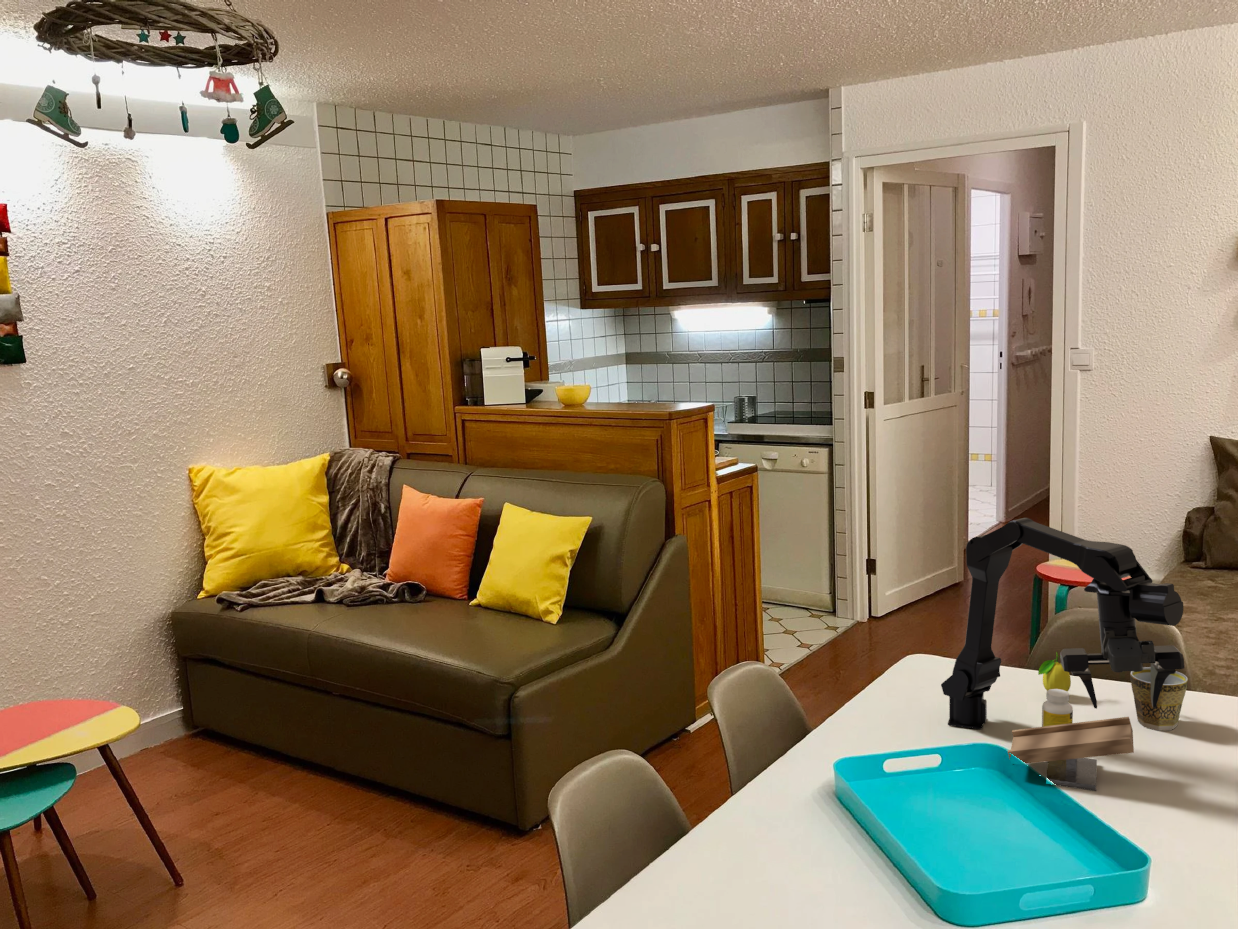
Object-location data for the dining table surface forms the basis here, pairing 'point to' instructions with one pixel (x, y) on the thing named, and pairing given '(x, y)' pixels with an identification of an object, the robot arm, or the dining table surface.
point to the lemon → (1054, 675)
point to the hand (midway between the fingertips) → (1124, 707)
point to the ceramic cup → (1167, 703)
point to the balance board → (1073, 740)
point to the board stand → (1073, 773)
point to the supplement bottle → (1057, 708)
